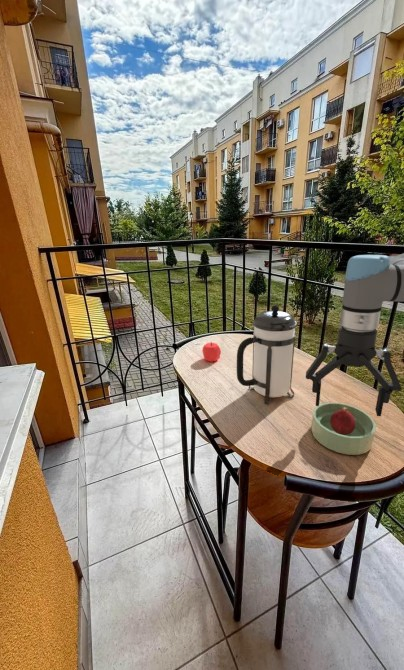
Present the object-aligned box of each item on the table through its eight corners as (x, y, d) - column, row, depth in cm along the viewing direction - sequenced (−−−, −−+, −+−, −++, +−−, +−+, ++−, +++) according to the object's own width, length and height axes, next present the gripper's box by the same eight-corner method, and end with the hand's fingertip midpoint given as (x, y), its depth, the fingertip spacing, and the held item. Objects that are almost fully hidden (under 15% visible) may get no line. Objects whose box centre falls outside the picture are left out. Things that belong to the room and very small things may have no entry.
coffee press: (253, 377, 103) (255, 297, 93) (298, 386, 96) (306, 301, 86) (235, 401, 89) (235, 311, 79) (286, 415, 82) (294, 316, 71)
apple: (198, 358, 120) (197, 341, 117) (213, 354, 124) (213, 337, 121) (209, 365, 114) (208, 347, 111) (224, 360, 118) (224, 342, 115)
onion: (356, 443, 70) (361, 416, 67) (331, 441, 70) (336, 414, 68) (348, 427, 75) (353, 402, 72) (326, 426, 76) (329, 401, 73)
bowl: (367, 425, 76) (371, 408, 74) (376, 463, 64) (380, 444, 62) (312, 414, 82) (314, 398, 80) (310, 448, 69) (312, 430, 67)
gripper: (298, 328, 64) (292, 407, 71) (432, 337, 54) (410, 427, 62) (300, 318, 70) (295, 392, 78) (421, 325, 61) (402, 408, 68)
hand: (346, 408), depth 70 cm, fingers open, 13 cm apart
